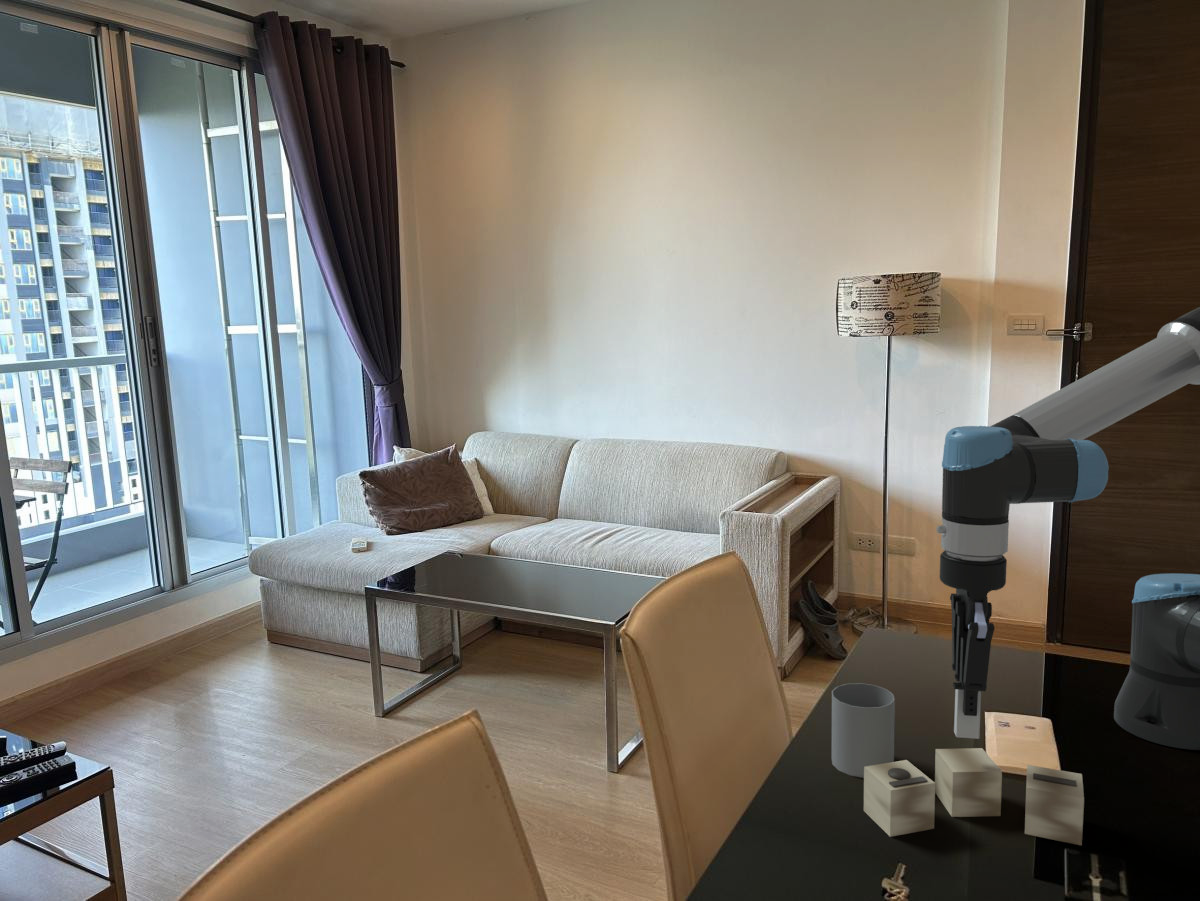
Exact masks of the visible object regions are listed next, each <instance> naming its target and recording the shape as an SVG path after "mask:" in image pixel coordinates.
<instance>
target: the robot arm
mask: <svg viewBox="0 0 1200 901" xmlns="http://www.w3.org/2000/svg"><path fill="white" fill-rule="evenodd" d="M1188 384H1190V385H1197V386H1198V385H1199V386H1200V306H1199V307H1196V308H1195V309H1193V310H1191V311H1189V312H1187V313H1185V314H1183V315H1181V316H1179V317H1177V318H1176V319H1174V320H1172V321H1170V322H1168V323H1166V324H1164V325H1163V326H1162V327H1161V328H1160V329H1159V331H1158V332H1157V336H1156V338H1153V339H1152V340H1150V341H1148V342H1146V343H1144V344H1142V345H1141V346H1139V347H1137V348H1135V349H1134V350H1131V351H1130V352H1127V353H1126V354H1124V355H1121V356H1120V357H1118V358H1117V359H1114V360H1113V361H1111V362H1109V363H1107V364H1105V365H1103V366H1101V367H1100V368H1097V369H1096V370H1094V371H1093V372H1091V373H1088V374H1087V375H1085V376H1083V377H1081V378H1079V379H1077V380H1076V381H1074V382H1071V383H1070V384H1068V385H1066V386H1064V387H1063V388H1060V389H1058V390H1057V391H1055V392H1053V393H1051V394H1049V395H1047V396H1046V397H1043V398H1042V399H1040V400H1037V401H1036V402H1034V403H1032V404H1031V405H1028V406H1027V407H1025V408H1023V409H1022V410H1019V411H1018V412H1015V413H1014V414H1012V415H1010V416H1008V417H1006V418H1004V419H1002V420H999V421H998V422H996V423H994V424H992V425H990V426H988V425H987V426H986V425H979V426H978V425H966V426H965V425H964V426H956V427H952V428H951V429H950V430H949V431H947V432H946V435H945V439H944V445H943V453H942V454H943V455H942V460H941V467H942V490H941V491H942V494H941V495H942V496H941V498H942V499H941V510H942V511H941V522H942V525H937V526H936V533H938V534H940V535H941V537H940V538H941V539H940V541H941V542H940V547H941V548H942V550H943V551H942V552H941V553H940V556H939V558H940V559H939V580H940V581H941V583H942V584H944V585H945V586H947V587H949V588H952V589H955V593H950V596H949V600H950V604H951V605H950V606H951V641H952V642H951V646H952V647H951V649H952V652H951V654H952V664H951V668H952V671H953V672H955V674H954V679H955V682H952V686H953V689H954V690H955V691H954V692H955V693H954V694H955V695H954V696H955V697H954V719H953V720H954V722H953V724H954V725H953V732H954V734H955V737H956V738H961V739H962V738H963V739H975V740H976V739H978V740H979V739H980V727H981V701H982V692H986V691H987V689H988V688H987V682H988V674H989V673H988V672H989V663H990V656H991V647H992V646H991V645H992V639H993V637H994V632H995V629H996V628H995V625H994V622H990V619H991V617H992V613H993V612H992V611H993V605H992V602H988V599H989V598H988V594H989V593H990V592H992V591H998V590H1001V589H1003V588H1004V587H1005V585H1006V584H1007V567H1008V566H1007V564H1008V563H1007V561H1008V560H1007V558H1006V557H1005V556H1004V555H1005V554H1006V553H1007V552H1008V551H1009V526H1010V525H1009V524H1010V523H1009V515H1010V507H1011V506H1010V505H1015V504H1016V505H1018V504H1019V505H1021V504H1035V503H1036V504H1037V503H1038V504H1040V503H1042V504H1043V503H1058V502H1059V503H1060V502H1061V503H1062V502H1067V503H1069V504H1070V503H1074V502H1078V501H1087V500H1091V499H1094V498H1096V497H1099V495H1101V493H1103V491H1104V489H1105V488H1106V486H1107V484H1108V481H1109V469H1110V467H1109V462H1108V459H1107V456H1106V454H1105V452H1104V450H1103V449H1102V448H1101V446H1100V445H1099V444H1098V443H1096V442H1094V441H1091V440H1089V439H1087V438H1089V437H1091V436H1093V435H1095V434H1097V433H1098V432H1100V431H1102V430H1105V429H1106V428H1108V427H1110V426H1112V425H1114V424H1115V423H1118V422H1119V421H1121V420H1123V419H1125V418H1126V417H1128V416H1131V415H1133V414H1134V413H1136V412H1137V411H1140V410H1142V409H1143V408H1145V407H1147V406H1150V405H1151V404H1153V403H1155V402H1157V401H1158V400H1159V401H1160V399H1162V398H1164V397H1166V396H1168V395H1170V394H1172V393H1174V392H1175V391H1177V390H1179V389H1181V388H1183V387H1185V386H1187V385H1188ZM1131 604H1132V607H1131V608H1132V609H1131V611H1132V612H1131V633H1130V636H1131V637H1130V639H1131V640H1130V659H1129V660H1130V663H1129V664H1130V665H1129V671H1128V673H1127V676H1126V677H1125V679H1124V682H1123V683H1122V686H1121V688H1120V690H1119V691H1118V695H1116V696H1117V697H1116V699H1115V702H1114V708H1113V710H1114V711H1113V719H1114V721H1115V722H1116V724H1117V725H1118V726H1119V727H1121V728H1122V729H1123V730H1125V731H1126V732H1128V733H1130V734H1131V735H1134V736H1135V737H1138V738H1140V739H1143V740H1146V741H1148V742H1151V743H1155V744H1158V745H1162V746H1166V747H1171V748H1174V749H1175V748H1177V749H1182V750H1190V751H1191V750H1192V751H1200V574H1197V573H1172V572H1171V573H1154V574H1149V575H1144V576H1142V577H1140V578H1138V580H1137V581H1136V583H1135V585H1134V594H1133V599H1132V600H1131Z"/></svg>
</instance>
